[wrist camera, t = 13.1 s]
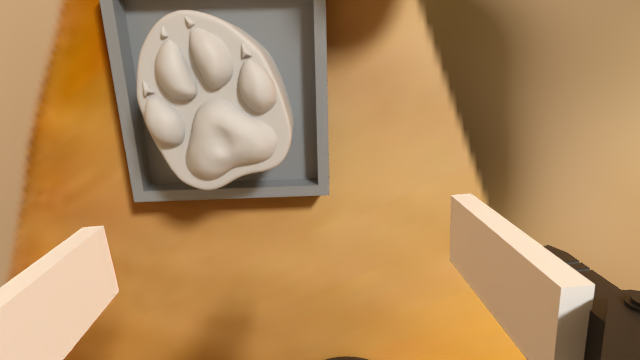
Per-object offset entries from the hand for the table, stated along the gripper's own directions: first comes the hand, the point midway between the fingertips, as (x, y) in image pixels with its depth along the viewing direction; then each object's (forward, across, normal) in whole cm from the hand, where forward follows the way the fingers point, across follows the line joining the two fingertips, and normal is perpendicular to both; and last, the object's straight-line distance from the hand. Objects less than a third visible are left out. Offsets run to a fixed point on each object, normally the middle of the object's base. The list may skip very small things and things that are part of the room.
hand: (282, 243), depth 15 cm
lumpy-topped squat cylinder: (+24, +6, -5) cm, 25 cm away
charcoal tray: (+24, +6, -5) cm, 25 cm away
